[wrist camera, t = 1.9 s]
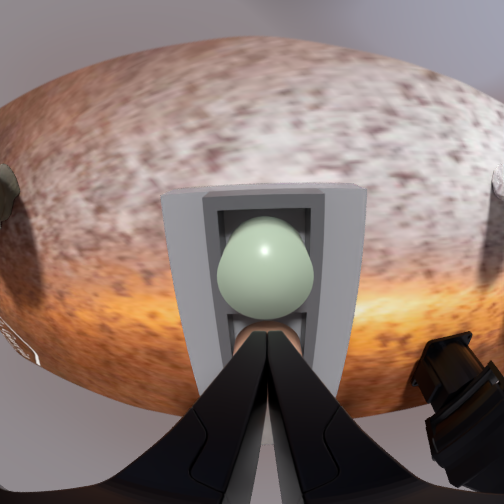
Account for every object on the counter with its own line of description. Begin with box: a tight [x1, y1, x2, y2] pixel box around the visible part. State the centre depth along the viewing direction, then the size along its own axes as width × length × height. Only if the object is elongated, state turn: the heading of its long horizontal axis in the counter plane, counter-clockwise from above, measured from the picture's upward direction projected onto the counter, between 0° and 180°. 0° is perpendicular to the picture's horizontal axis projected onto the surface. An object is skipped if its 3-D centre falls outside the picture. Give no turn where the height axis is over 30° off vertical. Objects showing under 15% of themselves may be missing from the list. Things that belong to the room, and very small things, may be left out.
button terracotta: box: [233, 321, 302, 401], centre depth 15 cm, size 4×4×3 cm
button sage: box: [217, 216, 314, 320], centre depth 12 cm, size 4×4×3 cm
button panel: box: [160, 183, 367, 398], centre depth 18 cm, size 12×18×4 cm, turn 3°
